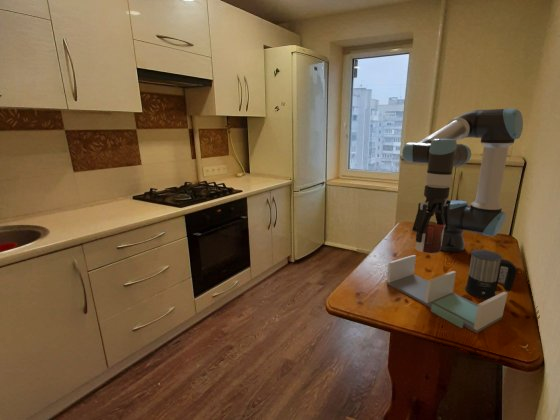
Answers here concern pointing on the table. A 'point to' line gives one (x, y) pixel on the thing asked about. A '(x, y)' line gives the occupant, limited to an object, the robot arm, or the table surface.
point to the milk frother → (488, 274)
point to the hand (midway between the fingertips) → (428, 248)
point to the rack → (444, 296)
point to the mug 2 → (503, 274)
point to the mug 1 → (433, 237)
